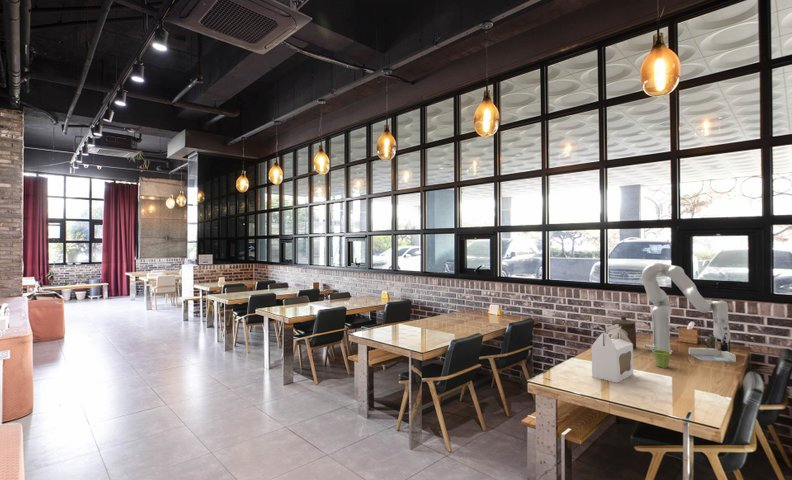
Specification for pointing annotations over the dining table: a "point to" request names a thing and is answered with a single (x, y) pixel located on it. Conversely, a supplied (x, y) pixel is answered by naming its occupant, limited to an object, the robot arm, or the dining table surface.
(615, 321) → the wooden container
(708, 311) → the robot arm
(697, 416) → the dining table surface
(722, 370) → the dining table surface
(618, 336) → the gable box
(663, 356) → the plant pot
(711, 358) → the arena
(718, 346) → the walnut block
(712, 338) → the mug
